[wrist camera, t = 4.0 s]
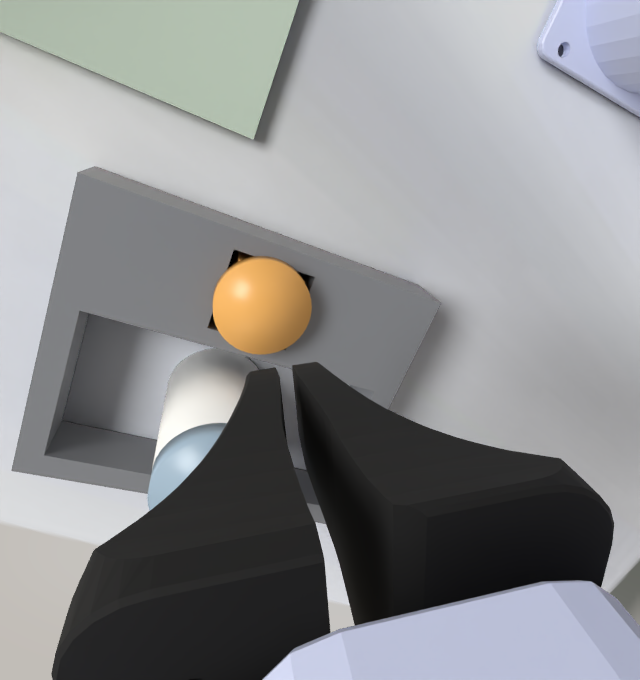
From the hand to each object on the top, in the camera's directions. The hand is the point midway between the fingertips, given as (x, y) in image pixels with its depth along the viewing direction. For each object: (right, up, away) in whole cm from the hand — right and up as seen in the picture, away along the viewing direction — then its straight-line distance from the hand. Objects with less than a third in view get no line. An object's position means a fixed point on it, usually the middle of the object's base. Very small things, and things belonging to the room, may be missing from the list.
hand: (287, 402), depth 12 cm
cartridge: (-4, -1, +11) cm, 11 cm away
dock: (-3, +1, +10) cm, 11 cm away
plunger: (-2, +4, +8) cm, 9 cm away
